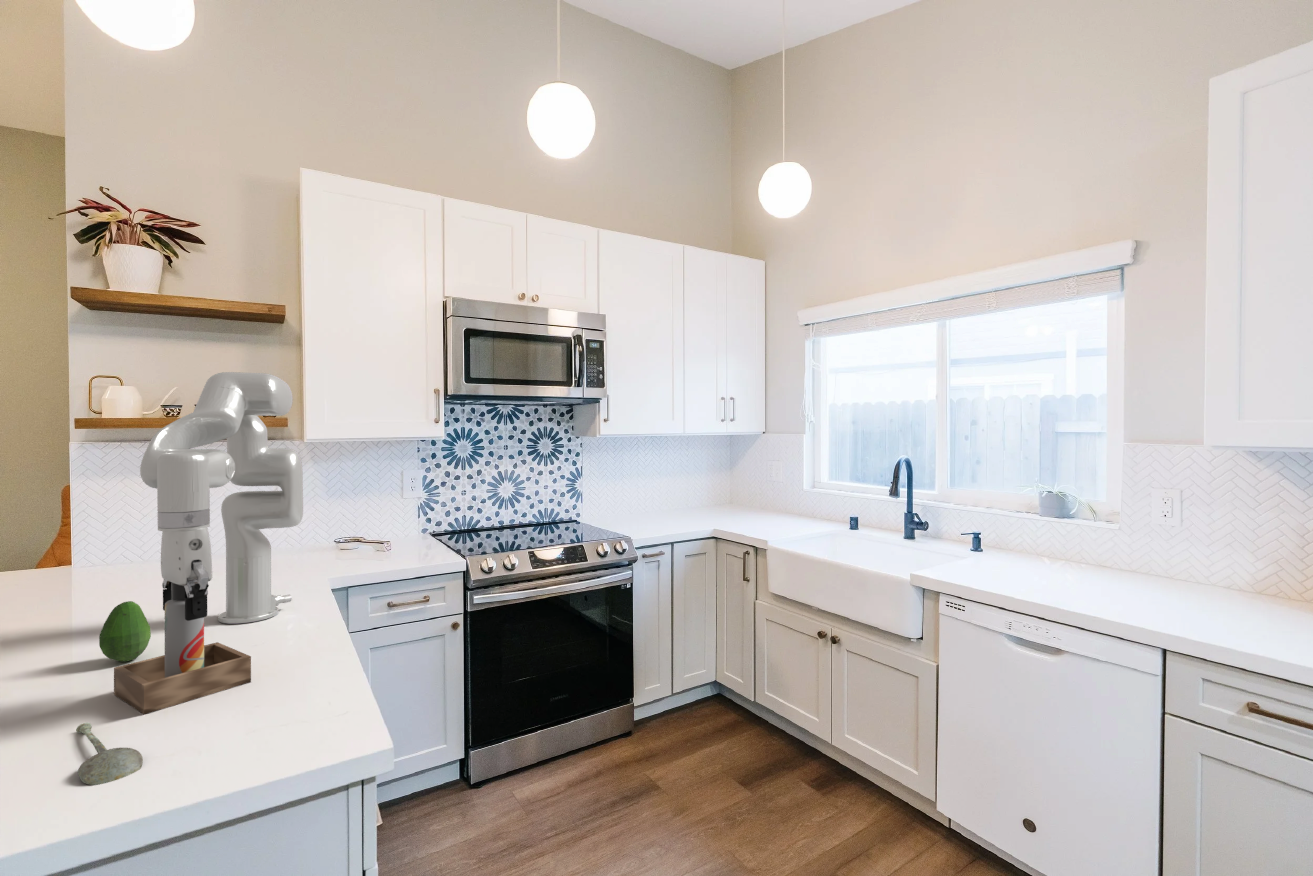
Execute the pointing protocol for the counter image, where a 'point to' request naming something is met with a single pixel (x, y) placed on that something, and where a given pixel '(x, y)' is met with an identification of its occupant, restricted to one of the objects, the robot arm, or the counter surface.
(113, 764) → the soupspoon
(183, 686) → the walnut tray
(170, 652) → the lotion bottle
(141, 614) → the avocado
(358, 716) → the counter surface
